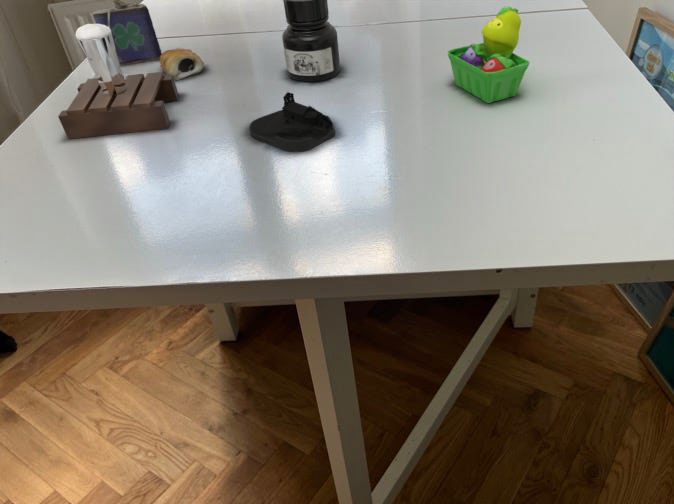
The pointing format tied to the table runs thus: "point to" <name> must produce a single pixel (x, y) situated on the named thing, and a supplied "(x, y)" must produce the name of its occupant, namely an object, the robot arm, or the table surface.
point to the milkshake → (102, 56)
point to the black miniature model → (293, 127)
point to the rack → (120, 107)
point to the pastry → (180, 63)
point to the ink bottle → (310, 41)
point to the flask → (130, 32)
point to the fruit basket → (491, 60)
